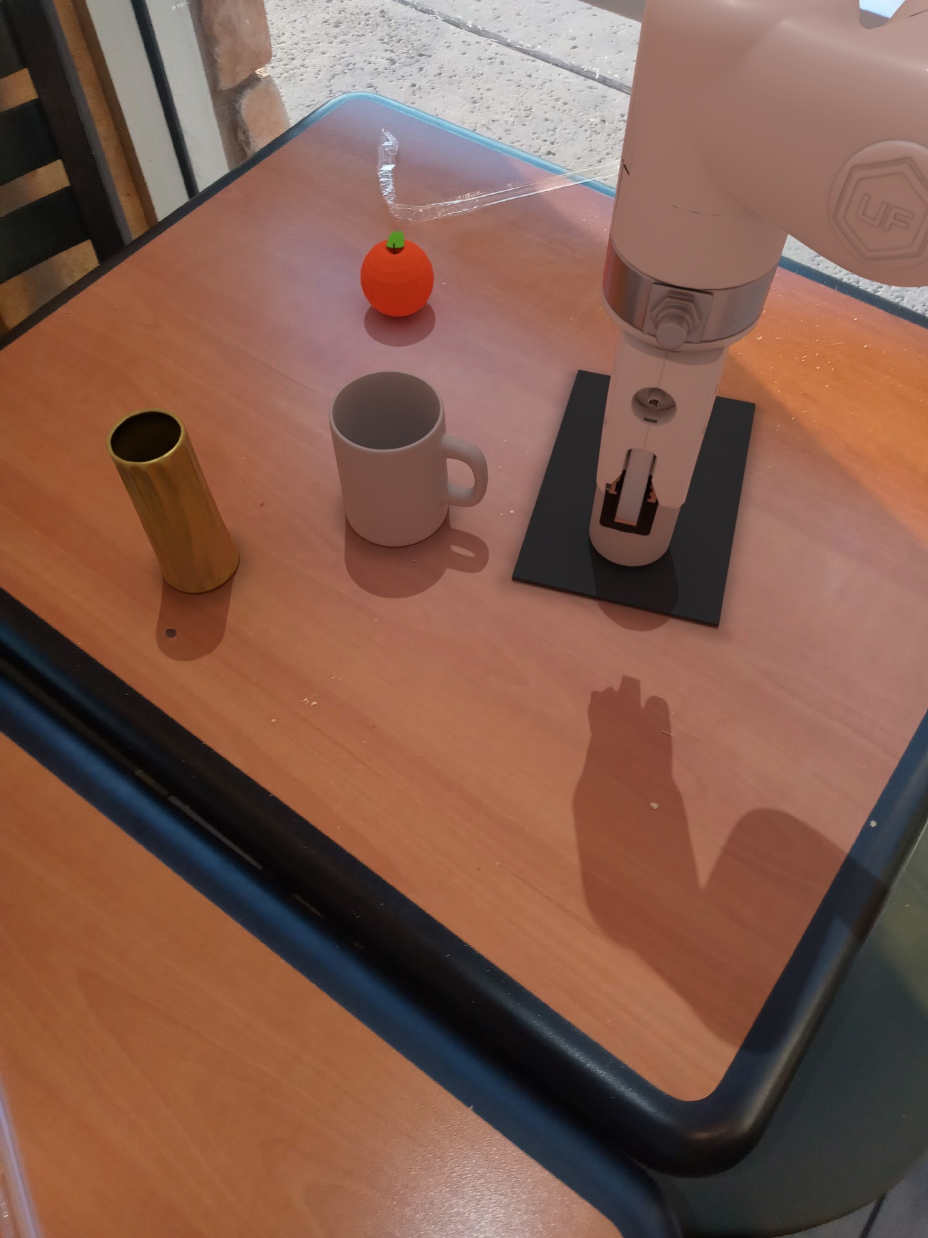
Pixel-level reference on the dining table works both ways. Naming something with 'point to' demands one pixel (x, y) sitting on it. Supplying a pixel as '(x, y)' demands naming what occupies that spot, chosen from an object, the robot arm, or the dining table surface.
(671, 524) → the beverage can
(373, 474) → the mug
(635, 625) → the dining table surface
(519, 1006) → the dining table surface
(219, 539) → the vase
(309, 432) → the dining table surface
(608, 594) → the mat
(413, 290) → the clementine
